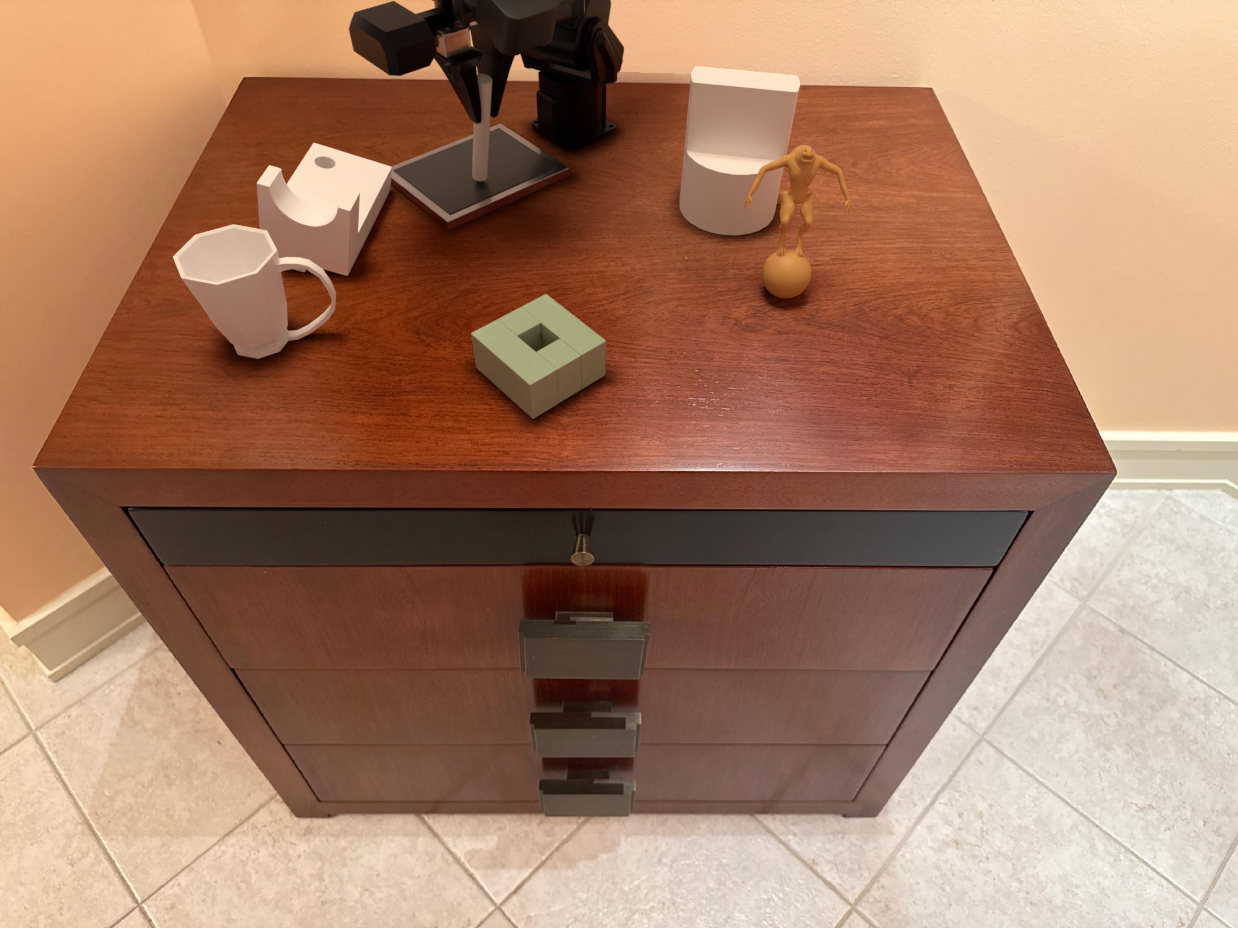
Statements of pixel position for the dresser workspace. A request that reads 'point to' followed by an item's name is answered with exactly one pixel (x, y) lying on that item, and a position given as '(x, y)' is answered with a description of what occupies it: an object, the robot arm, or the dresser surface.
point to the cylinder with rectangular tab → (735, 147)
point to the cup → (245, 287)
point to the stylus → (482, 130)
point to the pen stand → (539, 355)
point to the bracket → (323, 206)
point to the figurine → (790, 267)
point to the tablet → (451, 188)
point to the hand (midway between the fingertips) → (484, 119)
